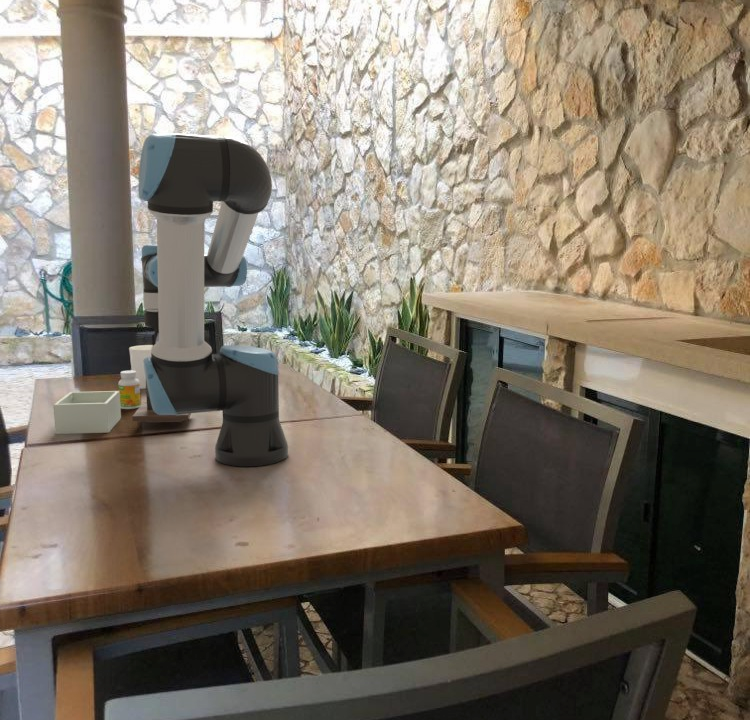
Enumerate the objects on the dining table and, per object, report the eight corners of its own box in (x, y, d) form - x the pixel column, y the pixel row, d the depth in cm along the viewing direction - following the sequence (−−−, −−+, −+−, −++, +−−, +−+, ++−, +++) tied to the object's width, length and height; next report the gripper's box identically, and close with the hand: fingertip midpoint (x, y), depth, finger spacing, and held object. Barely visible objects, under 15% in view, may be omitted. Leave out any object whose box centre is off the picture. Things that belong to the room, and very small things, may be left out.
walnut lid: (188, 423, 177) (186, 381, 176) (132, 424, 176) (130, 382, 174) (195, 408, 192) (193, 370, 190) (143, 409, 190) (141, 371, 189)
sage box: (108, 432, 176) (107, 403, 175) (55, 434, 174) (53, 404, 173) (121, 417, 189) (119, 390, 188) (71, 419, 188) (69, 392, 187)
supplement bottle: (115, 408, 199) (113, 373, 198) (126, 404, 204) (124, 369, 203) (133, 410, 198) (131, 374, 196) (144, 405, 203) (142, 370, 202)
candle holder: (131, 383, 232) (129, 345, 230) (163, 382, 235) (162, 344, 233) (130, 390, 223) (128, 350, 220) (165, 388, 225) (163, 349, 223)
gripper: (171, 313, 172) (176, 412, 176) (180, 306, 188) (184, 397, 192) (138, 313, 171) (143, 413, 175) (150, 306, 187) (154, 398, 191)
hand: (164, 404), depth 183 cm, fingers closed on walnut lid, 3 cm apart
